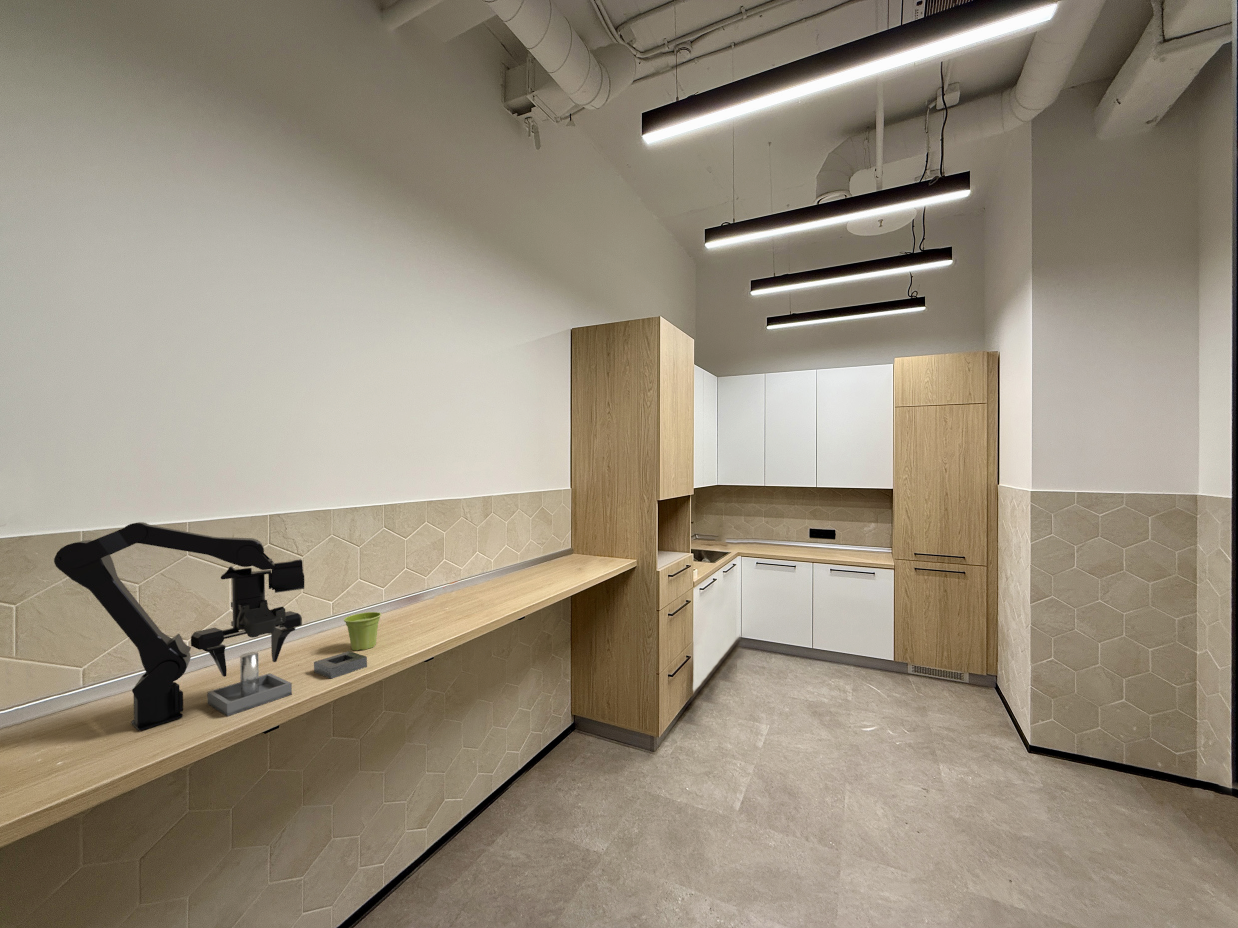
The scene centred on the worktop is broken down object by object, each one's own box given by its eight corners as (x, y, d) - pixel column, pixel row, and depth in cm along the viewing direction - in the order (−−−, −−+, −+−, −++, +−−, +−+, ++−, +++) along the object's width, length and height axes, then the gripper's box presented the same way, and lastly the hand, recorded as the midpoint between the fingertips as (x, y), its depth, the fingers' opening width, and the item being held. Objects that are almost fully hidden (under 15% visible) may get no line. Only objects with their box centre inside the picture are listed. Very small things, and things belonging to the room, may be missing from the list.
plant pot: (356, 655, 133) (356, 622, 133) (337, 650, 138) (336, 618, 138) (388, 644, 141) (388, 613, 141) (369, 640, 146) (368, 610, 146)
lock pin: (243, 700, 104) (243, 657, 105) (238, 697, 106) (237, 655, 107) (261, 694, 107) (260, 653, 107) (255, 691, 109) (255, 650, 109)
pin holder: (331, 678, 116) (330, 668, 116) (314, 671, 121) (313, 661, 121) (367, 666, 123) (366, 656, 124) (349, 660, 128) (349, 650, 128)
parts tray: (227, 716, 99) (227, 703, 99) (207, 703, 105) (207, 691, 105) (291, 694, 108) (291, 682, 108) (269, 683, 115) (269, 672, 115)
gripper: (207, 611, 95) (209, 692, 95) (312, 590, 111) (313, 661, 110) (189, 604, 102) (190, 681, 101) (290, 586, 117) (291, 652, 116)
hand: (250, 668), depth 107 cm, fingers open, 9 cm apart
